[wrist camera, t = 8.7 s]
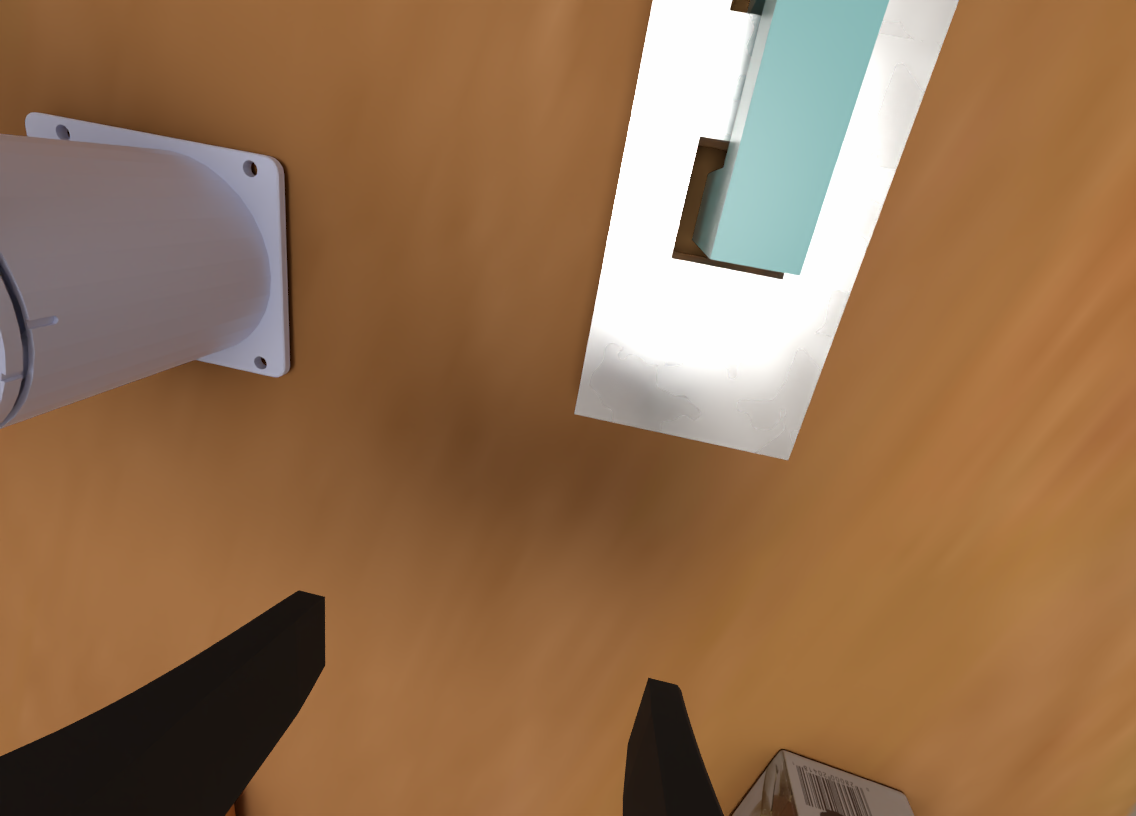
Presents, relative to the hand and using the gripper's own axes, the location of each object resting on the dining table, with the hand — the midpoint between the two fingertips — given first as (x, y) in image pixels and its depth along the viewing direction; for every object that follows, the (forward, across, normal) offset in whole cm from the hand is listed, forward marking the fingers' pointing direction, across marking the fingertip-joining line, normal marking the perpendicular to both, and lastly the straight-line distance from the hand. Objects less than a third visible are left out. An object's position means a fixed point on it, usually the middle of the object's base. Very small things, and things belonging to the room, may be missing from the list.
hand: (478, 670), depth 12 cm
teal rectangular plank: (+10, -4, -13) cm, 17 cm away
